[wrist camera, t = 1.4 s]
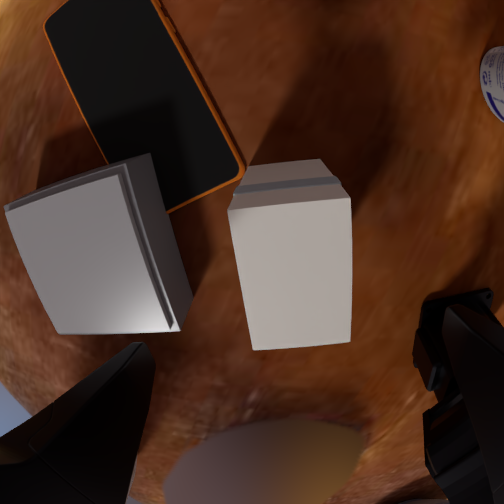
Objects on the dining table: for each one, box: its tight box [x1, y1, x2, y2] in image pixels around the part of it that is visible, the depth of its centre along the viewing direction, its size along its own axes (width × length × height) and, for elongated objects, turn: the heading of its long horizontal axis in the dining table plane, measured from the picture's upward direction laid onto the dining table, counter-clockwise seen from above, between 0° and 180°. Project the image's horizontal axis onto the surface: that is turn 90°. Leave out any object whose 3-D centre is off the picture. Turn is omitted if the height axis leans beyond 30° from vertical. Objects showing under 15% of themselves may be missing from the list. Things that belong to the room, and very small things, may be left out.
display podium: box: [4, 153, 194, 334], centre depth 19 cm, size 10×10×4 cm
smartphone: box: [43, 0, 245, 214], centre depth 16 cm, size 8×17×1 cm, turn 26°
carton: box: [227, 159, 352, 350], centre depth 15 cm, size 4×6×8 cm
